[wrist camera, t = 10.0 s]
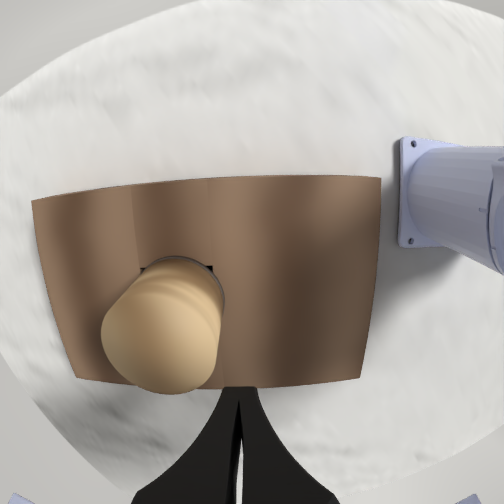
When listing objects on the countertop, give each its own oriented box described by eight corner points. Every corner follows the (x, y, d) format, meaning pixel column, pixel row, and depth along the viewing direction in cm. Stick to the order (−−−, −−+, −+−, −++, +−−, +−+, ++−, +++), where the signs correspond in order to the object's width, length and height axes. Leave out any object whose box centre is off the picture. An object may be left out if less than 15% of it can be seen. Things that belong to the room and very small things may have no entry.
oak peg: (224, 242, 19) (211, 293, 11) (229, 319, 21) (222, 397, 13) (143, 245, 19) (88, 292, 11) (154, 319, 20) (116, 390, 13)
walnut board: (362, 175, 18) (381, 177, 16) (348, 355, 22) (359, 377, 19) (55, 195, 18) (31, 200, 15) (90, 357, 22) (76, 377, 19)
